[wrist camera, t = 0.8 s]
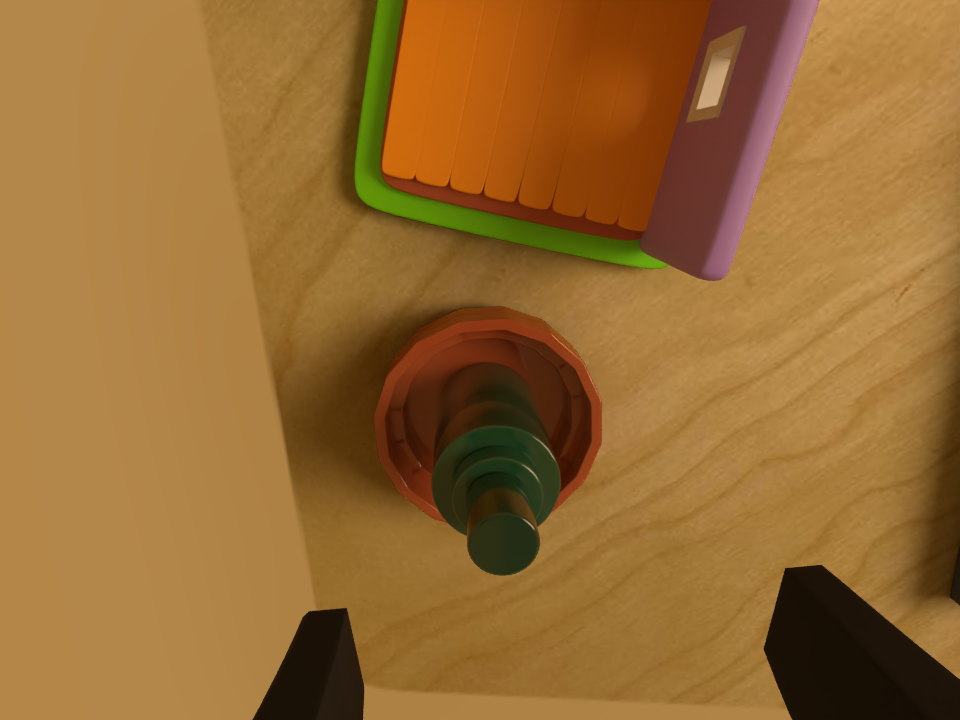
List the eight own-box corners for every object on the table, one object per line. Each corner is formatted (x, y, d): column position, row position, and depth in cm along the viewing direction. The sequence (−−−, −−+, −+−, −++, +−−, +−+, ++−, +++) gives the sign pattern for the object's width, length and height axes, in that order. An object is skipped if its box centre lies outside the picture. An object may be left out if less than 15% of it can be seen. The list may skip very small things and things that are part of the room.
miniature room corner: (785, -95, 20) (948, -223, 13) (671, 275, 23) (756, 318, 17) (409, -201, 19) (384, -401, 12) (348, 205, 22) (302, 222, 15)
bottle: (537, 450, 24) (581, 605, 16) (441, 457, 24) (433, 615, 16) (534, 358, 23) (580, 471, 15) (433, 365, 23) (419, 482, 15)
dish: (588, 488, 26) (602, 521, 23) (394, 502, 26) (387, 537, 23) (586, 296, 23) (601, 312, 21) (372, 311, 23) (362, 328, 21)
